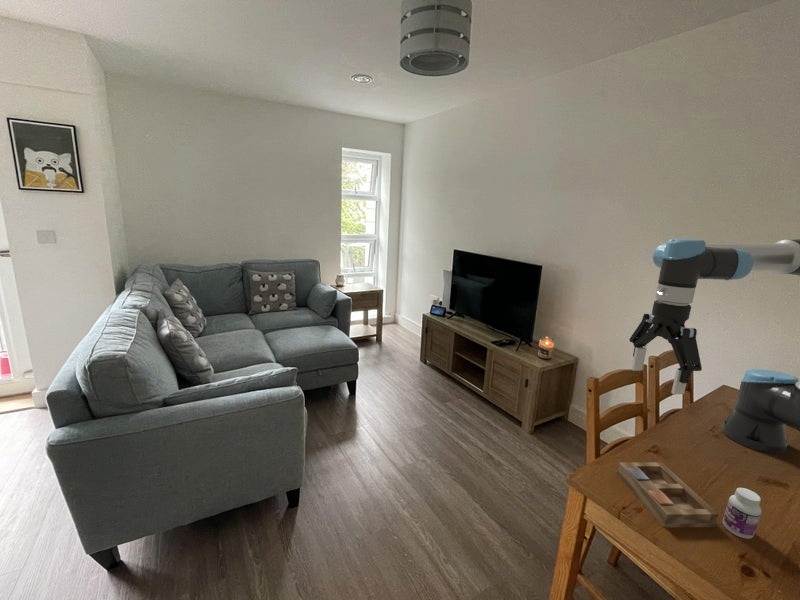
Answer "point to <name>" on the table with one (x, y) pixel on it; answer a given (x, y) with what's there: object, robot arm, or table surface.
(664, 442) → the table surface
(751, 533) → the pill bottle
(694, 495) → the socket block
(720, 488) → the table surface
